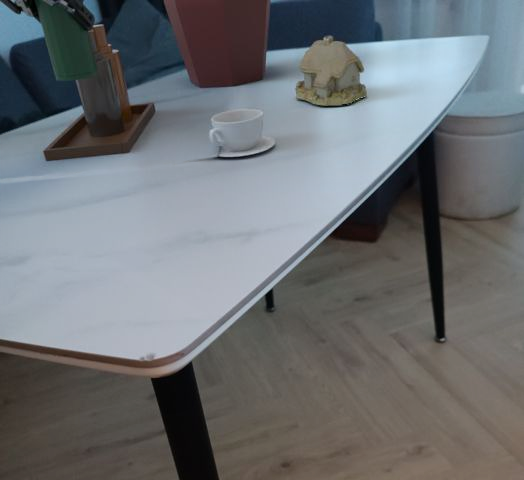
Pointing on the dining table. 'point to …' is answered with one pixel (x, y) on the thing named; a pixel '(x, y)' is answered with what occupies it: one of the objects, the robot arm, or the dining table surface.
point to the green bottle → (66, 43)
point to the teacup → (239, 133)
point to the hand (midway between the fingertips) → (73, 26)
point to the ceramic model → (330, 74)
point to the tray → (83, 145)
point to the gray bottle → (101, 98)
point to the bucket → (221, 39)
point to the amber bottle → (114, 70)
